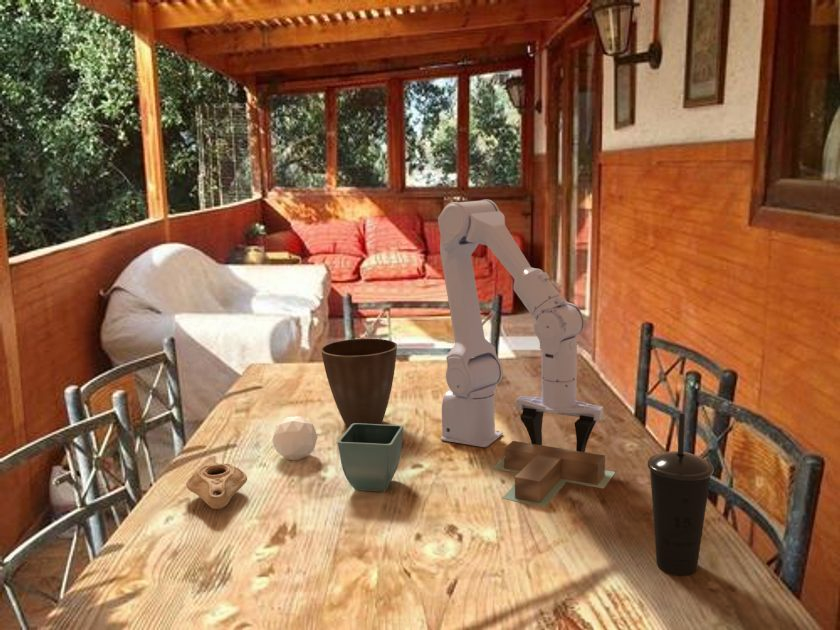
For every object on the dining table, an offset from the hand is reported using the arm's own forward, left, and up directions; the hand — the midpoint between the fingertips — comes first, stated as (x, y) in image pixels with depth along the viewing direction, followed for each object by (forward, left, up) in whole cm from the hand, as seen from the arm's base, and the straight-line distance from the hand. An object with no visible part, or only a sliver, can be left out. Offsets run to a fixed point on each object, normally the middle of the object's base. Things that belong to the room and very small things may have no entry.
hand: (558, 454), depth 127 cm
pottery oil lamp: (-43, -37, -2) cm, 57 cm away
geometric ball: (-43, -17, -2) cm, 46 cm away
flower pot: (-24, -21, -2) cm, 32 cm away
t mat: (0, -8, -2) cm, 8 cm away
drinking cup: (+24, -25, -2) cm, 34 cm away
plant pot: (-42, +3, -2) cm, 42 cm away
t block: (0, -9, -2) cm, 9 cm away
